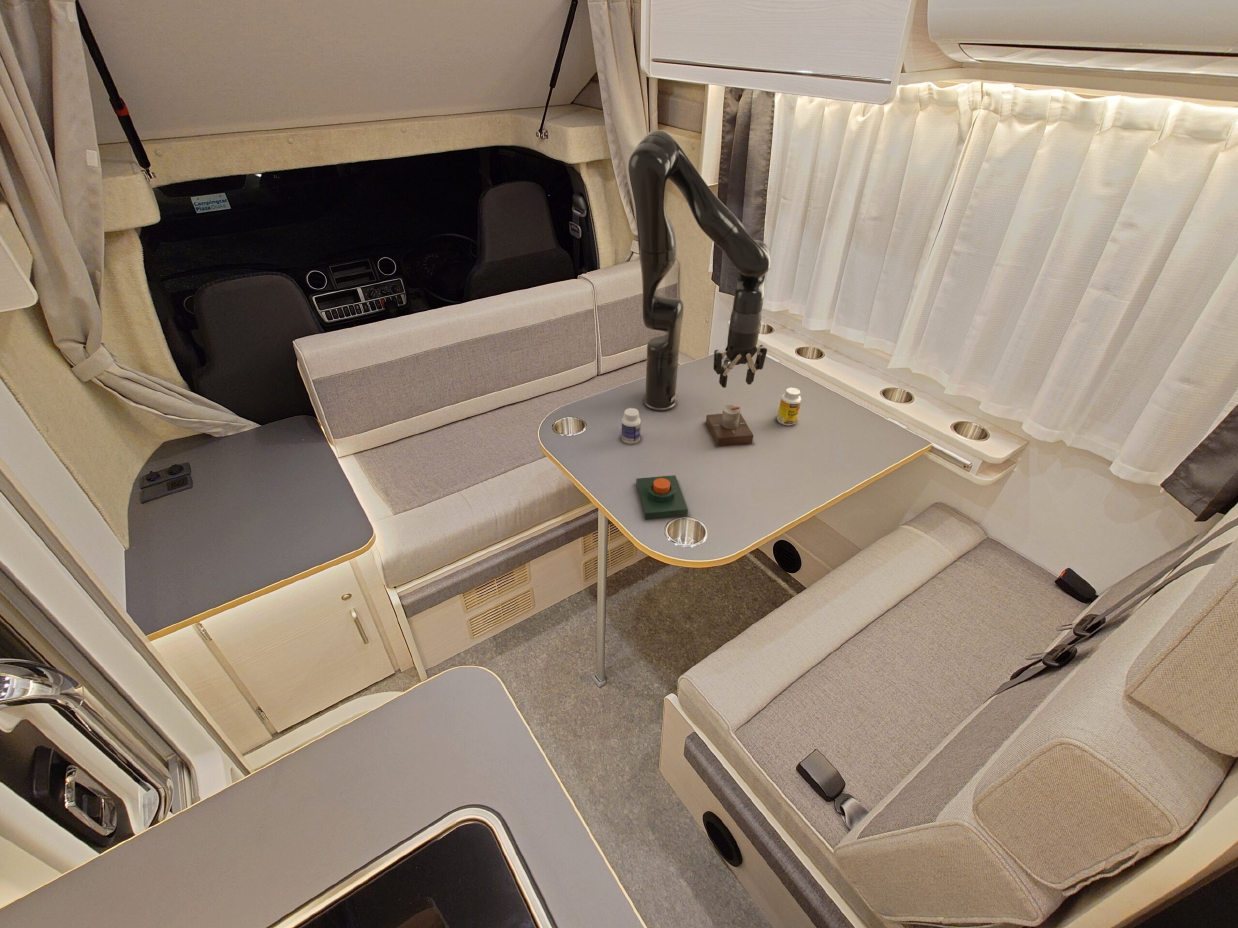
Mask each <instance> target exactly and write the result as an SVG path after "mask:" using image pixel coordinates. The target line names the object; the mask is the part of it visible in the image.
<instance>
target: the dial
mask: <svg viewBox="0 0 1238 928" xmlns="http://www.w3.org/2000/svg"><path fill="white" fill-rule="evenodd" d="M721 412H722V413H721V414H722V420H721V425H722V426H723V427H724V428H727V429H735V428H737V427H738V423H739V417H740V414H741V408H740V406H737V405H734V404H726V405H724V406H723V407H722V411H721Z"/></svg>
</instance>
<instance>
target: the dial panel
mask: <svg viewBox="0 0 1238 928" xmlns="http://www.w3.org/2000/svg"><path fill="white" fill-rule="evenodd" d="M721 420H722V413H713V414H711V413H710V414H706V418H705V426H706V427H707V429H708V431H709V433H710V435H711V438H712V440H713V441H714V444H715V445H716V447H719V448H720V447H729V446H731V447H732V446H743V445H744V446H745V445H752V444H753V440H754V433H753V432H752V430H751V428H750V427H749V425H748V423H747V422H746V420H745V419H744V417H743V414H742V413H740V417H739V423H738V427H737V428H735V429H727V428H724V427H723V426H722V425H721Z"/></svg>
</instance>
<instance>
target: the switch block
mask: <svg viewBox="0 0 1238 928" xmlns="http://www.w3.org/2000/svg"><path fill="white" fill-rule="evenodd" d="M658 478H665V479H667V480H669V482H670V491H669V492H668V493H666V494H659V493H656V492H655V491H654V490H653V483H654V481H655V480H656V479H658ZM635 487H636V490H637V494H638V497H639V501H640V506H641V509H642V513H643V517H644V520H645V521H650V520H660V519H661V520H663V519H670V518H671V519H672V518H683V517H688V511H689V509H688V506H687V504H686V500H685V497H684V494H683V492H682V490H681V487H680V484H679V481H678V478H677V476H676V475H675V474H674V475H663V476H650V477H640V478H639V477H638V478H637V477H636V479H635Z"/></svg>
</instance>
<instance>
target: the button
mask: <svg viewBox="0 0 1238 928" xmlns="http://www.w3.org/2000/svg"><path fill="white" fill-rule="evenodd" d="M653 490H654V491H655V492H656V493H659V494H666V493H668V492H669V491H670V482H669V480H667V479H665V478H658V479H656V480H655V481H654V483H653Z"/></svg>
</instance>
